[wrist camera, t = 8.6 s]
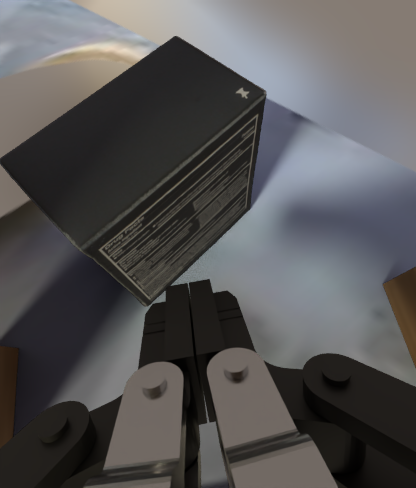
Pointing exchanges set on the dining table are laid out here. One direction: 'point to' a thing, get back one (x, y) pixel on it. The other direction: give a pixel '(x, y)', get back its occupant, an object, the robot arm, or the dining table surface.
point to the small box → (148, 165)
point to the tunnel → (398, 289)
